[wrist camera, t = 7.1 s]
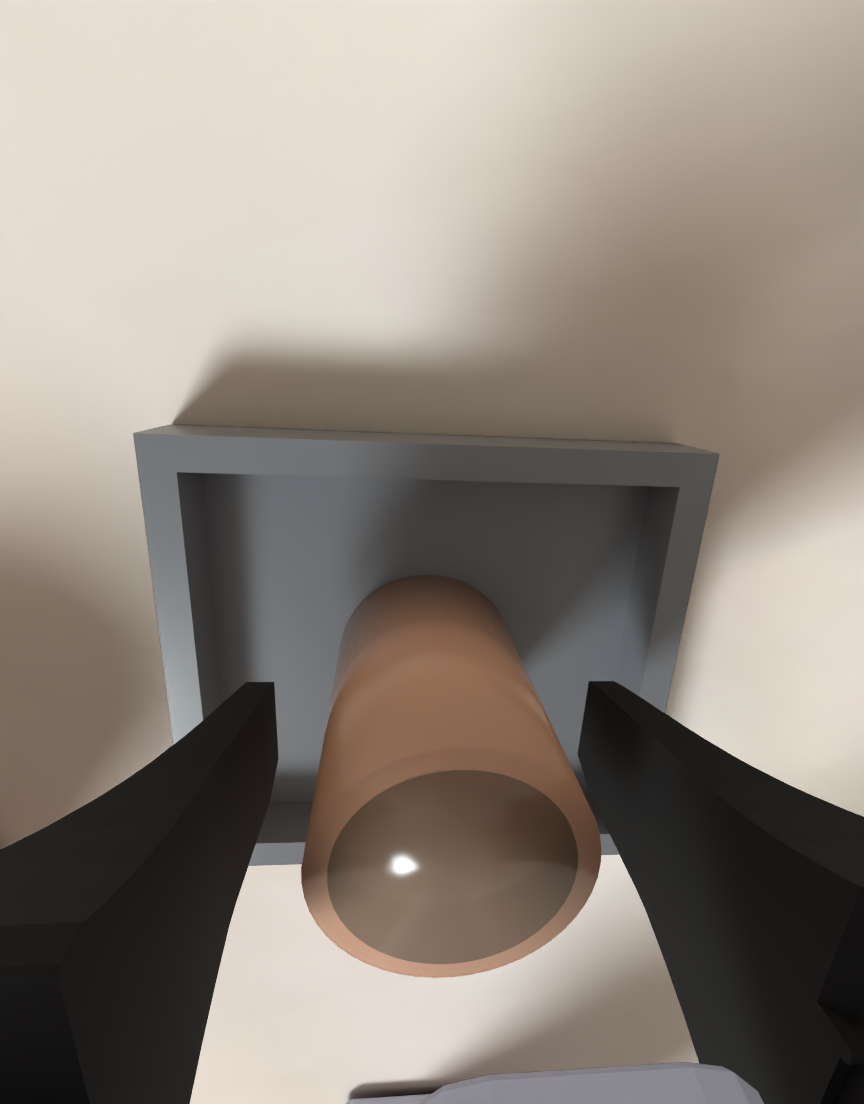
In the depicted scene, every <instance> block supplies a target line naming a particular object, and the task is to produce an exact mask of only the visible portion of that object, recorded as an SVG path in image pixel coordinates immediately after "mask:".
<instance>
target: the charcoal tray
mask: <svg viewBox="0 0 864 1104" xmlns="http://www.w3.org/2000/svg"><path fill="white" fill-rule="evenodd" d="M133 435H134V443H135V451H136V458H137V466H138V474H139V482H140V489H141V497H142V505H143V513H144V520H145V528H146V536H147V544H148V551H149V559H150V567H151V575H152V582H153V590H154V598H155V606H156V613H157V621H158V629H159V637H160V644H161V652H162V660H163V668H164V675H165V683H166V691H167V699H168V706H169V714H170V722H171V730H172V737H173V745H174V744H175V743H176V742H178V741H179V740H180V739H182V738H183V737H184V736H185V735H187V734H188V733H189V732H190V731H191V730H193V729H194V728H195V727H196V726H197V725H198V724H199V723H201V722H202V721H203V720H204V719H205V718H206V717H208V716H209V715H210V714H211V713H212V712H213V711H214V710H215V709H216V708H218V707H219V706H220V705H221V704H222V703H223V702H224V701H225V700H226V699H228V698H229V697H230V696H231V695H232V694H233V693H234V692H235V691H237V690H238V689H239V688H240V687H241V686H242V685H243V684H245V683H246V682H274V686H275V704H276V722H277V740H278V758H279V759H278V764H277V769H276V774H275V779H274V784H273V789H272V793H271V798H270V802H269V805H268V808H267V812H266V815H265V818H264V821H263V824H262V827H261V830H260V833H259V836H258V839H257V842H256V845H255V848H254V851H253V853H252V856H251V859H250V862H249V865H248V866H256V865H289V864H302V861H303V855H304V849H305V843H306V837H307V832H308V826H309V820H310V815H311V809H312V803H313V798H314V792H315V786H316V780H317V775H318V769H319V763H320V758H321V752H322V746H323V741H324V735H325V729H326V723H327V718H328V712H329V706H330V701H331V695H332V689H333V684H334V678H335V672H336V666H337V661H338V655H339V649H340V644H341V638H342V634H343V631H344V628H345V626H346V624H347V622H348V620H349V618H350V616H351V615H352V613H353V612H354V610H355V609H356V608H357V607H358V605H359V604H360V603H361V602H362V601H363V600H364V599H365V598H366V597H368V596H369V595H370V594H371V593H373V592H374V591H376V590H377V589H379V588H380V587H382V586H384V585H386V584H388V583H390V582H393V581H396V580H399V579H402V578H406V577H411V576H418V575H438V576H445V577H450V578H453V579H456V580H460V581H462V582H464V583H466V584H469V585H471V586H472V587H474V588H475V589H477V590H479V591H480V592H481V593H482V594H484V595H485V596H486V597H487V598H488V599H489V600H490V601H491V602H492V603H493V604H494V606H495V607H496V608H497V610H498V611H499V613H500V615H501V617H502V619H503V621H504V623H505V625H506V627H507V629H508V631H509V634H510V636H511V638H512V640H513V642H514V644H515V647H516V649H517V651H518V653H519V655H520V657H521V660H522V662H523V664H524V666H525V668H526V670H527V672H528V675H529V677H530V679H531V681H532V683H533V685H534V688H535V690H536V692H537V694H538V696H539V698H540V701H541V703H542V705H543V707H544V709H545V711H546V713H547V716H548V718H549V720H550V722H551V724H552V726H553V729H554V731H555V733H556V735H557V737H558V739H559V742H560V744H561V746H562V748H563V750H564V752H565V755H566V757H567V759H568V761H569V763H570V765H571V767H572V770H573V772H574V774H575V776H576V778H577V780H578V783H579V785H580V787H581V789H582V791H583V793H584V796H585V798H586V800H587V802H588V804H589V806H590V808H591V811H592V813H593V815H594V817H595V820H596V823H597V826H598V829H599V833H600V840H601V855H617V854H619V852H618V850H617V848H616V846H615V844H614V842H613V840H612V838H611V836H610V834H609V832H608V830H607V828H606V826H605V824H604V822H603V819H602V817H601V815H600V813H599V811H598V809H597V807H596V805H595V803H594V800H593V798H592V796H591V794H590V791H589V788H588V785H587V782H586V779H585V777H584V773H583V770H582V767H581V764H580V761H579V758H578V747H579V741H580V735H581V728H582V722H583V715H584V709H585V702H586V696H587V690H588V683H589V681H615V682H617V683H619V684H620V685H622V686H624V687H625V688H627V689H629V690H630V691H632V692H633V693H635V694H636V695H638V696H639V697H641V698H643V699H644V700H646V701H647V702H649V703H650V704H651V705H653V706H654V707H656V708H657V709H659V710H660V711H662V712H663V713H665V709H666V705H667V700H668V695H669V690H670V686H671V681H672V676H673V671H674V667H675V662H676V657H677V653H678V648H679V643H680V638H681V634H682V629H683V624H684V619H685V615H686V610H687V605H688V600H689V596H690V591H691V586H692V582H693V577H694V572H695V567H696V563H697V558H698V553H699V548H700V544H701V539H702V534H703V530H704V525H705V520H706V515H707V511H708V506H709V501H710V496H711V492H712V487H713V482H714V477H715V473H716V468H717V463H718V459H719V454H717V453H713V452H709V451H705V450H701V449H697V448H693V447H689V446H685V445H681V444H677V443H656V442H629V441H602V440H575V439H547V438H520V437H493V436H466V435H439V434H412V433H385V432H357V431H330V430H303V429H276V428H249V427H222V426H195V425H166V426H162V427H158V428H154V429H149V430H145V431H141V432H137V433H133Z"/></svg>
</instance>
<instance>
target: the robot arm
mask: <svg viewBox="0 0 864 1104" xmlns="http://www.w3.org/2000/svg"><path fill="white" fill-rule="evenodd" d="M578 758H579V761H580V764H581V767H582V770H583V773H584V777H585V779H586V782H587V785H588V788H589V791H590V794H591V796H592V798H593V800H594V803H595V805H596V807H597V809H598V811H599V813H600V815H601V817H602V819H603V822H604V824H605V826H606V828H607V830H608V832H609V834H610V836H611V838H612V840H613V842H614V844H615V846H616V848H617V850H618V852H619V854H620V856H621V858H622V860H623V862H624V864H625V867H626V869H627V871H628V873H629V875H630V877H631V879H632V881H633V883H634V885H635V887H636V889H637V891H638V894H639V896H640V898H641V900H642V903H643V905H644V907H645V910H646V912H647V915H648V917H649V920H650V923H651V925H652V928H653V931H654V933H655V936H656V939H657V941H658V944H659V947H660V949H661V952H662V955H663V957H664V960H665V963H666V966H667V968H668V971H669V974H670V977H671V980H672V983H673V986H674V988H675V991H676V994H677V997H678V1000H679V1003H680V1005H681V1008H682V1011H683V1014H684V1017H685V1020H686V1023H687V1026H688V1029H689V1032H690V1035H691V1039H692V1042H693V1045H694V1048H695V1051H696V1054H697V1057H698V1060H699V1063H700V1064H697V1063H689V1062H678V1063H663V1064H647V1065H632V1066H617V1067H601V1068H586V1069H571V1070H555V1071H540V1072H524V1073H509V1074H494V1075H485V1076H481V1077H477V1078H472V1079H468V1080H464V1081H460V1082H455V1083H451V1084H447V1085H444V1086H443V1087H441V1088H440V1089H438V1090H437V1091H435V1092H434V1093H432V1094H422V1095H407V1096H392V1097H378V1098H363V1099H353V1100H349V1101H347V1102H346V1103H345V1104H864V817H863V816H860V815H857V814H855V813H852V812H850V811H847V810H845V809H842V808H840V807H838V806H835V805H833V804H831V803H828V802H826V801H824V800H821V799H819V798H817V797H814V796H812V795H810V794H807V793H805V792H803V791H801V790H799V789H797V788H794V787H792V786H790V785H788V784H786V783H784V782H782V781H780V780H778V779H776V778H774V777H772V776H770V775H768V774H766V773H764V772H762V771H760V770H758V769H756V768H754V767H752V766H750V765H749V764H747V763H745V762H743V761H741V760H739V759H738V758H736V757H734V756H732V755H731V754H729V753H727V752H726V751H724V750H722V749H720V748H719V747H717V746H715V745H714V744H712V743H710V742H709V741H707V740H705V739H704V738H702V737H701V736H699V735H697V734H696V733H694V732H693V731H691V730H689V729H688V728H686V727H685V726H683V725H682V724H680V723H679V722H677V721H676V720H674V719H672V718H671V717H669V716H668V715H666V714H665V713H663V712H662V711H660V710H659V709H657V708H656V707H654V706H653V705H651V704H650V703H649V702H647V701H646V700H644V699H643V698H641V697H639V696H638V695H636V694H635V693H633V692H632V691H630V690H629V689H627V688H625V687H624V686H622V685H620V684H619V683H617V682H615V681H589V683H588V690H587V696H586V702H585V709H584V715H583V722H582V728H581V735H580V741H579V747H578ZM278 759H279V758H278V740H277V722H276V704H275V686H274V682H246V683H245V684H243V685H242V686H241V687H240V688H239V689H238V690H237V691H235V692H234V693H233V694H232V695H231V696H230V697H229V698H228V699H226V700H225V701H224V702H223V703H222V704H221V705H220V706H219V707H218V708H216V709H215V710H214V711H213V712H212V713H211V714H210V715H209V716H208V717H206V718H205V719H204V720H203V721H202V722H201V723H199V724H198V725H197V726H196V727H195V728H194V729H193V730H191V731H190V732H189V733H188V734H187V735H185V736H184V737H183V738H182V739H180V740H179V741H178V742H176V743H175V744H174V745H173V746H171V747H170V748H169V749H168V750H166V751H165V752H164V753H162V754H161V755H160V756H159V757H157V758H156V759H155V760H153V761H152V762H151V763H149V764H148V765H147V766H145V767H144V768H142V769H141V770H140V771H138V772H137V773H135V774H134V775H132V776H131V777H129V778H128V779H126V780H125V781H123V782H122V783H120V784H119V785H117V786H116V787H114V788H113V789H111V790H110V791H108V792H106V793H105V794H103V795H102V796H100V797H98V798H97V799H95V800H93V801H91V802H90V803H88V804H86V805H84V806H83V807H81V808H79V809H77V810H76V811H74V812H72V813H70V814H68V815H67V816H65V817H63V818H61V819H60V820H58V821H56V822H54V823H53V824H51V825H49V826H47V827H45V828H43V829H41V830H40V831H38V832H36V833H34V834H32V835H30V836H28V837H26V838H24V839H22V840H20V841H18V842H16V843H14V844H12V845H9V846H7V847H5V848H3V849H1V850H0V1104H189V1103H190V1099H191V1094H192V1089H193V1084H194V1079H195V1075H196V1070H197V1065H198V1060H199V1055H200V1051H201V1046H202V1041H203V1037H204V1032H205V1028H206V1023H207V1019H208V1014H209V1010H210V1005H211V1001H212V997H213V992H214V988H215V983H216V979H217V975H218V970H219V966H220V962H221V958H222V953H223V949H224V945H225V941H226V937H227V932H228V928H229V924H230V921H231V918H232V914H233V911H234V907H235V904H236V901H237V898H238V895H239V892H240V889H241V886H242V883H243V880H244V877H245V874H246V871H247V868H248V865H249V862H250V859H251V856H252V853H253V851H254V848H255V845H256V842H257V839H258V836H259V833H260V830H261V827H262V824H263V821H264V818H265V815H266V812H267V808H268V805H269V802H270V798H271V793H272V789H273V784H274V779H275V774H276V769H277V764H278Z"/></svg>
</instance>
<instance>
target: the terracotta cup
mask: <svg viewBox="0 0 864 1104" xmlns="http://www.w3.org/2000/svg"><path fill="white" fill-rule="evenodd" d="M600 863H601V840H600V833H599V829H598V826H597V823H596V820H595V817H594V815H593V813H592V811H591V808H590V806H589V804H588V802H587V800H586V798H585V796H584V793H583V791H582V789H581V787H580V785H579V783H578V780H577V778H576V776H575V774H574V772H573V770H572V767H571V765H570V763H569V761H568V759H567V757H566V755H565V752H564V750H563V748H562V746H561V744H560V742H559V739H558V737H557V735H556V733H555V731H554V729H553V726H552V724H551V722H550V720H549V718H548V716H547V713H546V711H545V709H544V707H543V705H542V703H541V701H540V698H539V696H538V694H537V692H536V690H535V688H534V685H533V683H532V681H531V679H530V677H529V675H528V672H527V670H526V668H525V666H524V664H523V662H522V660H521V657H520V655H519V653H518V651H517V649H516V647H515V644H514V642H513V640H512V638H511V636H510V634H509V631H508V629H507V627H506V625H505V623H504V621H503V619H502V617H501V615H500V613H499V611H498V610H497V608H496V607H495V606H494V604H493V603H492V602H491V601H490V600H489V599H488V598H487V597H486V596H485V595H484V594H482V593H481V592H480V591H479V590H477V589H475V588H474V587H472V586H471V585H469V584H466V583H464V582H462V581H460V580H456V579H453V578H450V577H445V576H438V575H418V576H411V577H406V578H402V579H399V580H396V581H393V582H390V583H388V584H386V585H384V586H382V587H380V588H379V589H377V590H376V591H374V592H373V593H371V594H370V595H369V596H368V597H366V598H365V599H364V600H363V601H362V602H361V603H360V604H359V605H358V607H357V608H356V609H355V610H354V612H353V613H352V615H351V616H350V618H349V620H348V622H347V624H346V626H345V628H344V631H343V634H342V638H341V644H340V649H339V655H338V661H337V666H336V672H335V678H334V684H333V689H332V695H331V701H330V706H329V712H328V718H327V723H326V729H325V735H324V741H323V746H322V752H321V758H320V763H319V769H318V775H317V780H316V786H315V792H314V798H313V803H312V809H311V815H310V820H309V826H308V832H307V837H306V843H305V849H304V855H303V861H302V867H301V874H302V888H303V893H304V898H305V900H306V903H307V906H308V908H309V911H310V913H311V915H312V916H313V918H314V920H315V921H316V923H317V925H318V926H319V927H320V928H321V930H322V931H323V932H324V933H325V935H326V936H327V937H328V938H329V939H330V940H332V941H333V942H334V943H335V944H336V945H337V946H338V947H339V948H341V949H342V950H344V951H345V952H347V953H348V954H350V955H351V956H353V957H355V958H357V959H359V960H360V961H362V962H364V963H366V964H369V965H372V966H374V967H377V968H379V969H382V970H386V971H390V972H394V973H397V974H403V975H409V976H416V977H432V978H437V977H456V976H464V975H471V974H475V973H480V972H484V971H489V970H492V969H495V968H498V967H501V966H504V965H507V964H509V963H512V962H514V961H516V960H519V959H521V958H523V957H525V956H527V955H528V954H530V953H532V952H534V951H536V950H538V949H539V948H540V947H542V946H543V945H545V944H546V943H548V942H549V941H551V940H552V939H553V938H554V937H556V936H557V935H558V934H559V933H560V932H562V931H563V930H564V929H565V928H566V927H567V926H568V925H569V924H570V923H571V921H572V920H573V919H574V918H575V917H576V916H577V914H578V913H579V912H580V910H581V909H582V908H583V906H584V905H585V903H586V901H587V900H588V898H589V896H590V894H591V892H592V890H593V888H594V885H595V882H596V880H597V877H598V873H599V868H600Z"/></svg>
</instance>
